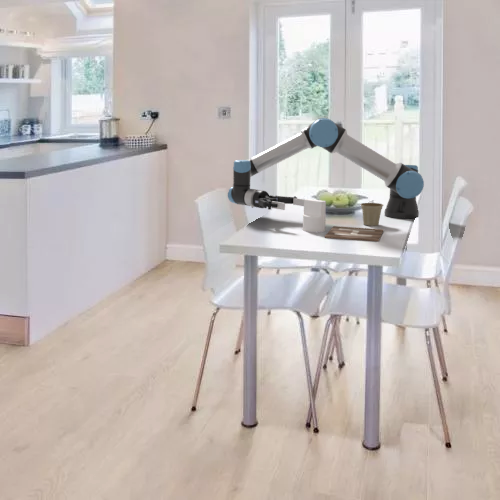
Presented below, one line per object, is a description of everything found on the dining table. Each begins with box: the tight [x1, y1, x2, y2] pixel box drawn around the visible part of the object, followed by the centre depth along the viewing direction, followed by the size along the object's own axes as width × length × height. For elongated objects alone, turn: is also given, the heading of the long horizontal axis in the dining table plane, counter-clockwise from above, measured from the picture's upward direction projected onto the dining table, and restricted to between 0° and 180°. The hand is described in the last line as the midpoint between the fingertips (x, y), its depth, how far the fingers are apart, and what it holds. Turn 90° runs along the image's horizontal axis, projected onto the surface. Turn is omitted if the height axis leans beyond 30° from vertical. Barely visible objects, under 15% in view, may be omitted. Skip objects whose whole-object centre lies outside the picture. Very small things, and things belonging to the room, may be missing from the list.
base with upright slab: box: [302, 198, 327, 233], centre depth 252 cm, size 9×9×12 cm
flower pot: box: [360, 202, 384, 227], centre depth 264 cm, size 9×9×9 cm
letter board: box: [324, 225, 385, 242], centre depth 245 cm, size 20×20×1 cm
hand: (295, 204), depth 257 cm, fingers open, 13 cm apart
